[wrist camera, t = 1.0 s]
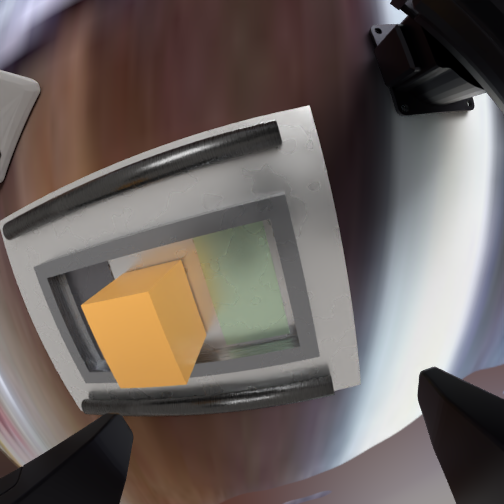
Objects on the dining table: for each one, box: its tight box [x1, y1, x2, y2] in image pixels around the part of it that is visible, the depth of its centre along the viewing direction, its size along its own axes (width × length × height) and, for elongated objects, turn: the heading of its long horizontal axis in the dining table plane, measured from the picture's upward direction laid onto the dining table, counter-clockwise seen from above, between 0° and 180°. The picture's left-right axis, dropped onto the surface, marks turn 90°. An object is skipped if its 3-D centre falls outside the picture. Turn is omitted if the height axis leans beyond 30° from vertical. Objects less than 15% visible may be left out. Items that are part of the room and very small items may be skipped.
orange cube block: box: [81, 259, 206, 388], centre depth 16 cm, size 4×5×5 cm
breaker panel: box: [0, 106, 361, 416], centre depth 19 cm, size 24×18×4 cm
